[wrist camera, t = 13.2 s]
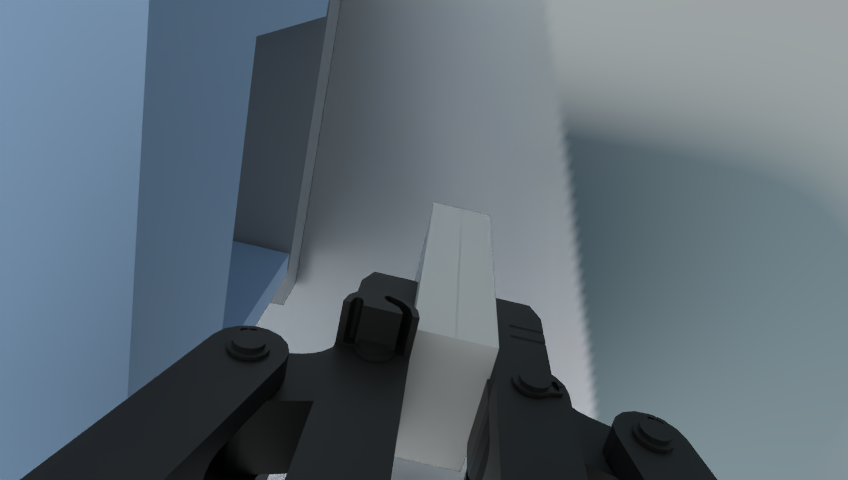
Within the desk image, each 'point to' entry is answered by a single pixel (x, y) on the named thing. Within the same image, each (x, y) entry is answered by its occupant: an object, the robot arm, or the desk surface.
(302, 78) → the housing base
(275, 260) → the housing cover
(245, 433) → the robot arm
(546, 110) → the desk surface
